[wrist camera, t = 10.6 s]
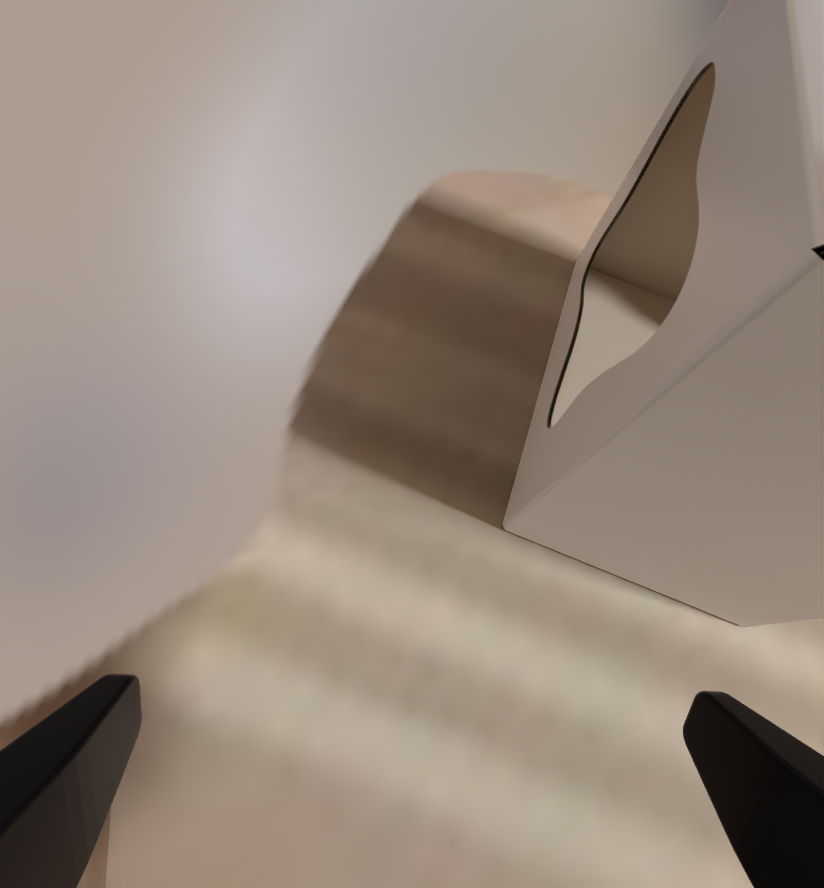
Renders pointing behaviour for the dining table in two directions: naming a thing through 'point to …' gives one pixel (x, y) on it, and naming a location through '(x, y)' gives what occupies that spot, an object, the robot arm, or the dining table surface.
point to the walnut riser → (97, 861)
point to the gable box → (701, 343)
